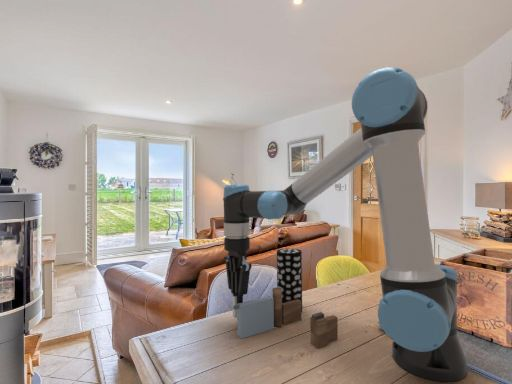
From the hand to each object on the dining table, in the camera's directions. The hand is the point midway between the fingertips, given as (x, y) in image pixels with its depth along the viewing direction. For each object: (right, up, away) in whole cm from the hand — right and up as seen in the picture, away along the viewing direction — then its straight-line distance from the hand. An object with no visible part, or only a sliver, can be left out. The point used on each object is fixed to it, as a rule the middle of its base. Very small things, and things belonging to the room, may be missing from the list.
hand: (237, 315), depth 89 cm
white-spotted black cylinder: (+17, -3, +12) cm, 21 cm away
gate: (+5, -3, -3) cm, 7 cm away
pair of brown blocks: (+19, -3, -3) cm, 19 cm away
